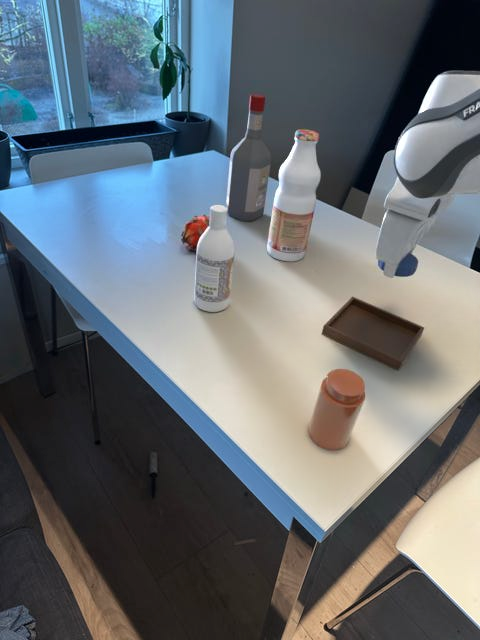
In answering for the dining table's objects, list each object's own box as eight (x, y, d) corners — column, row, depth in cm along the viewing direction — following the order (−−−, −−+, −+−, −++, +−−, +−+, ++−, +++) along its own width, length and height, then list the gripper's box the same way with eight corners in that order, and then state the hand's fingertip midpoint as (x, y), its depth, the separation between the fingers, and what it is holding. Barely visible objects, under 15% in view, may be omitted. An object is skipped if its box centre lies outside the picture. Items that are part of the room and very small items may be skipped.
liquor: (266, 213, 126) (283, 97, 108) (249, 224, 119) (265, 102, 101) (239, 204, 129) (251, 90, 111) (221, 213, 123) (231, 94, 105)
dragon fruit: (222, 246, 111) (186, 267, 105) (202, 218, 111) (165, 237, 105) (236, 230, 104) (198, 251, 98) (215, 200, 104) (175, 219, 98)
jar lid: (372, 268, 76) (374, 258, 75) (385, 254, 80) (388, 245, 79) (408, 281, 73) (411, 271, 72) (419, 266, 78) (423, 257, 76)
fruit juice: (258, 249, 108) (275, 128, 92) (284, 240, 114) (304, 124, 97) (286, 266, 103) (310, 141, 86) (312, 255, 109) (339, 136, 92)
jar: (355, 430, 66) (375, 380, 60) (338, 457, 62) (358, 406, 56) (319, 410, 69) (335, 359, 62) (301, 434, 65) (315, 383, 58)
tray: (421, 335, 87) (424, 327, 86) (398, 371, 78) (402, 362, 77) (349, 304, 93) (352, 296, 92) (321, 334, 84) (323, 325, 83)
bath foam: (229, 314, 86) (240, 218, 74) (193, 312, 86) (198, 215, 74) (228, 293, 92) (238, 201, 80) (194, 292, 91) (199, 198, 79)
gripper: (424, 168, 77) (399, 240, 85) (381, 199, 63) (356, 282, 71) (462, 178, 74) (431, 252, 82) (425, 214, 60) (394, 298, 68)
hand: (396, 266), depth 77 cm, fingers closed on jar lid, 6 cm apart
